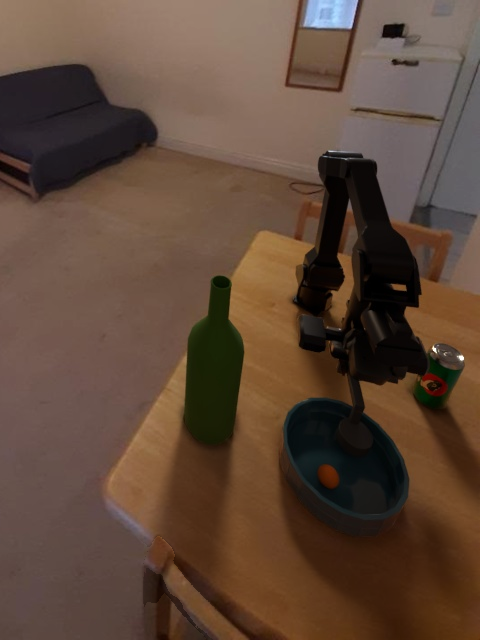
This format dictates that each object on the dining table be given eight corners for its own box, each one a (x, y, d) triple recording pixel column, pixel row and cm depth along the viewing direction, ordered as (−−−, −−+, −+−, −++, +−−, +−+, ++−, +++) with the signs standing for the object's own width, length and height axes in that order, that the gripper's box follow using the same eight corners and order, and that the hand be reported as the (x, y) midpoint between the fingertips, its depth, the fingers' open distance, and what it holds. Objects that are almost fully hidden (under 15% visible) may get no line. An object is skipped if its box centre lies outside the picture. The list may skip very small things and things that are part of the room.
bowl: (257, 459, 67) (261, 440, 64) (314, 398, 76) (320, 378, 73) (364, 572, 54) (374, 552, 52) (418, 482, 63) (429, 462, 61)
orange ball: (312, 479, 63) (315, 468, 62) (322, 466, 65) (325, 455, 64) (330, 497, 61) (334, 487, 60) (340, 483, 63) (344, 473, 61)
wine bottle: (236, 403, 75) (254, 267, 61) (232, 453, 68) (251, 311, 54) (188, 389, 78) (195, 256, 64) (179, 436, 71) (185, 296, 56)
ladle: (372, 462, 63) (383, 435, 60) (338, 452, 64) (347, 425, 61) (353, 372, 76) (361, 346, 73) (325, 366, 78) (332, 340, 75)
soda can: (450, 413, 72) (473, 368, 67) (418, 408, 73) (439, 363, 68) (436, 387, 77) (457, 343, 71) (406, 382, 78) (425, 339, 72)
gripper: (309, 338, 60) (294, 403, 67) (458, 369, 55) (425, 437, 62) (303, 286, 70) (290, 348, 77) (430, 308, 64) (404, 373, 71)
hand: (348, 375), depth 71 cm, fingers closed on ladle
